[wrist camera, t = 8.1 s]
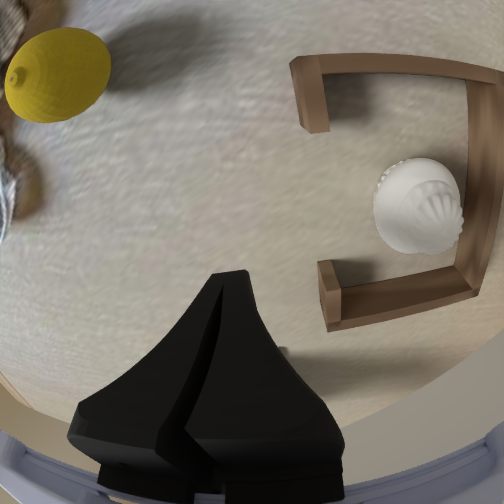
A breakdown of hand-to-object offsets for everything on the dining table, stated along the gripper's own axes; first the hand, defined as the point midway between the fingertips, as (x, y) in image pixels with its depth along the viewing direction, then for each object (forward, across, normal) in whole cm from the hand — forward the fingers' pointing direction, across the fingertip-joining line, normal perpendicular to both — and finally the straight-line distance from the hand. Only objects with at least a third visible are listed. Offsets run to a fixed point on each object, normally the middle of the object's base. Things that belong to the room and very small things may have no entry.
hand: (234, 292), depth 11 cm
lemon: (+10, +8, -11) cm, 17 cm away
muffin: (+10, -11, +1) cm, 14 cm away
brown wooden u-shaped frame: (+9, -11, +1) cm, 15 cm away
